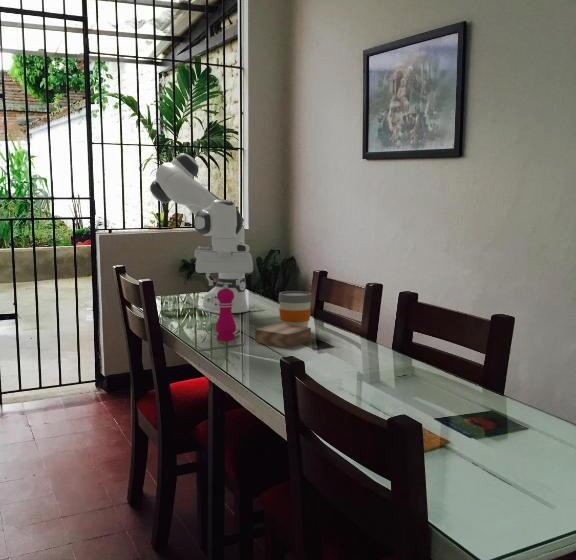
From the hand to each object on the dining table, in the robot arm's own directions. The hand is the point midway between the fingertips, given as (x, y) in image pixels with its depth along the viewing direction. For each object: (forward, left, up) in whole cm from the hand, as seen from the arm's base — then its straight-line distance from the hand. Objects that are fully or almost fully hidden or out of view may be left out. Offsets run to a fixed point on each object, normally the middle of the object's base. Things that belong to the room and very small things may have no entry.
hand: (224, 285), depth 228 cm
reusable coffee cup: (+13, +25, -20) cm, 35 cm away
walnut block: (+18, +10, -20) cm, 29 cm away
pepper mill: (0, 0, -20) cm, 20 cm away
